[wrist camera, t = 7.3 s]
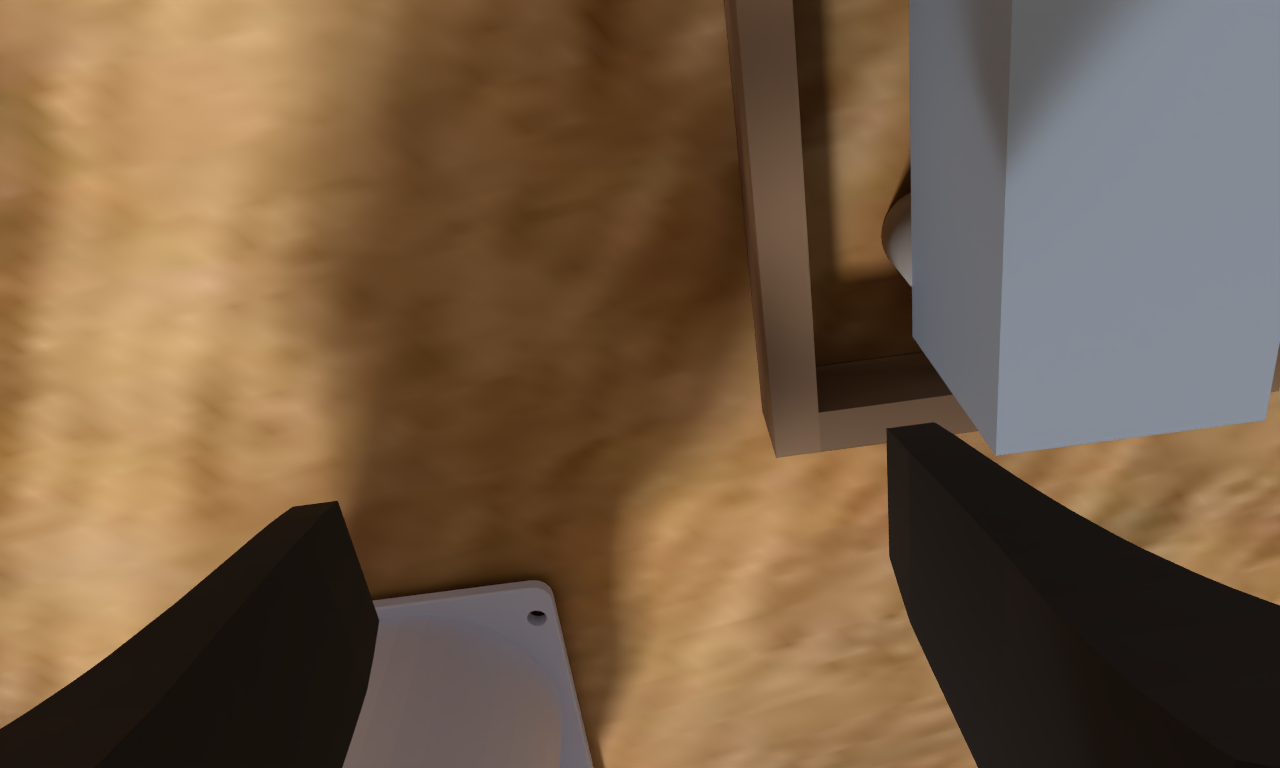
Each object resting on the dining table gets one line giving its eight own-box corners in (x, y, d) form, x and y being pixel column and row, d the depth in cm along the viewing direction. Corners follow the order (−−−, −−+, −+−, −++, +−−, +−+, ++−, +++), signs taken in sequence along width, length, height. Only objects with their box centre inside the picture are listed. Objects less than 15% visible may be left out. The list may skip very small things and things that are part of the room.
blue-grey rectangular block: (1121, 307, 20) (1265, 420, 16) (912, 336, 20) (995, 455, 16) (1190, -391, 15) (1439, -521, 10) (905, -343, 15) (1028, -450, 11)
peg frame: (1220, 348, 22) (1278, 390, 20) (762, 410, 23) (776, 457, 21) (1357, -538, 15) (1467, -606, 13) (684, -422, 16) (694, -470, 14)
